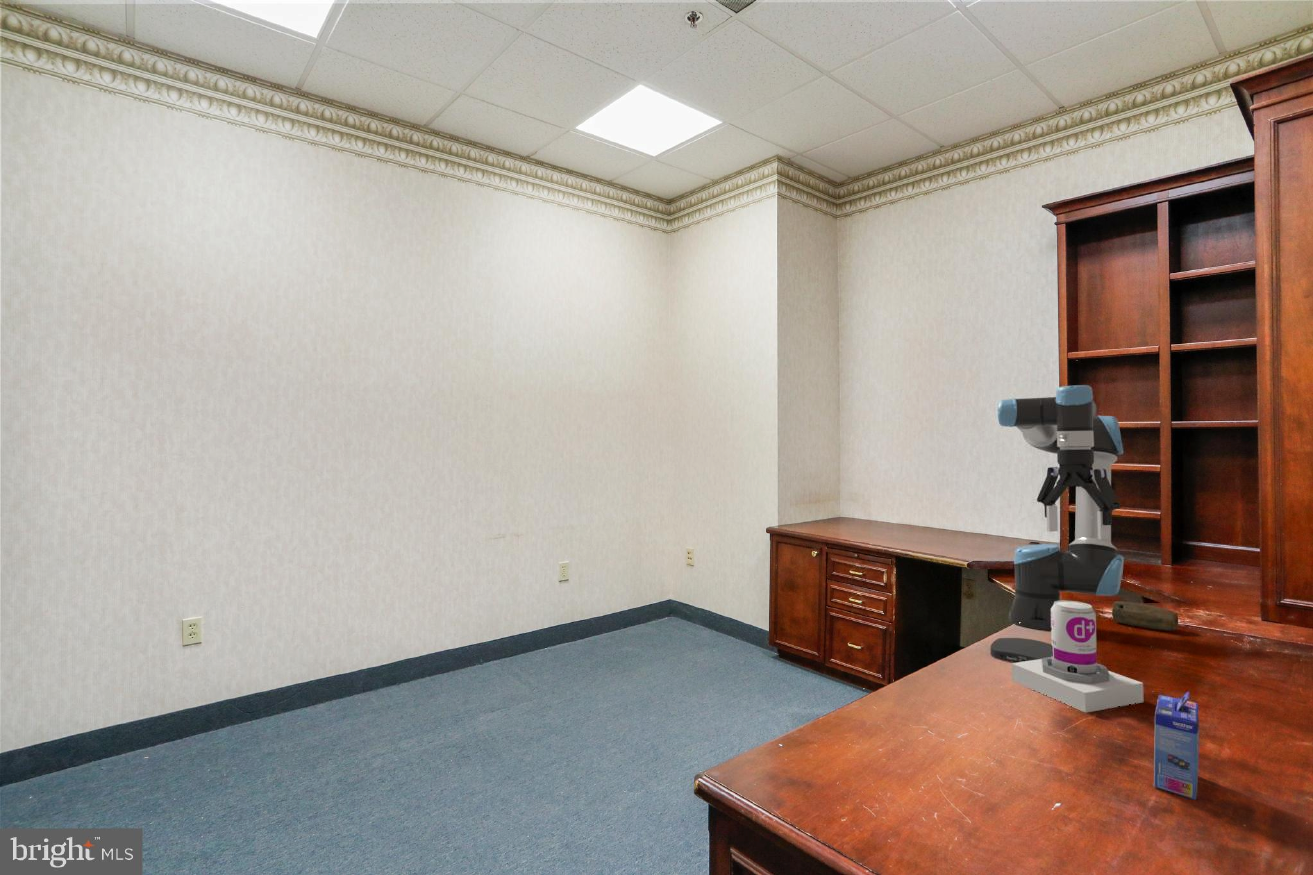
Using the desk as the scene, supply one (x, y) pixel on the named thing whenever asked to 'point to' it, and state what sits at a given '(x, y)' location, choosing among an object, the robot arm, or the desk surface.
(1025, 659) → the media streaming box
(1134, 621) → the stone weight
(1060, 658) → the supplement can
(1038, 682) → the mount base
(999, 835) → the desk surface
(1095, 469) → the robot arm
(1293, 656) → the desk surface
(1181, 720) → the ink cartridge box
